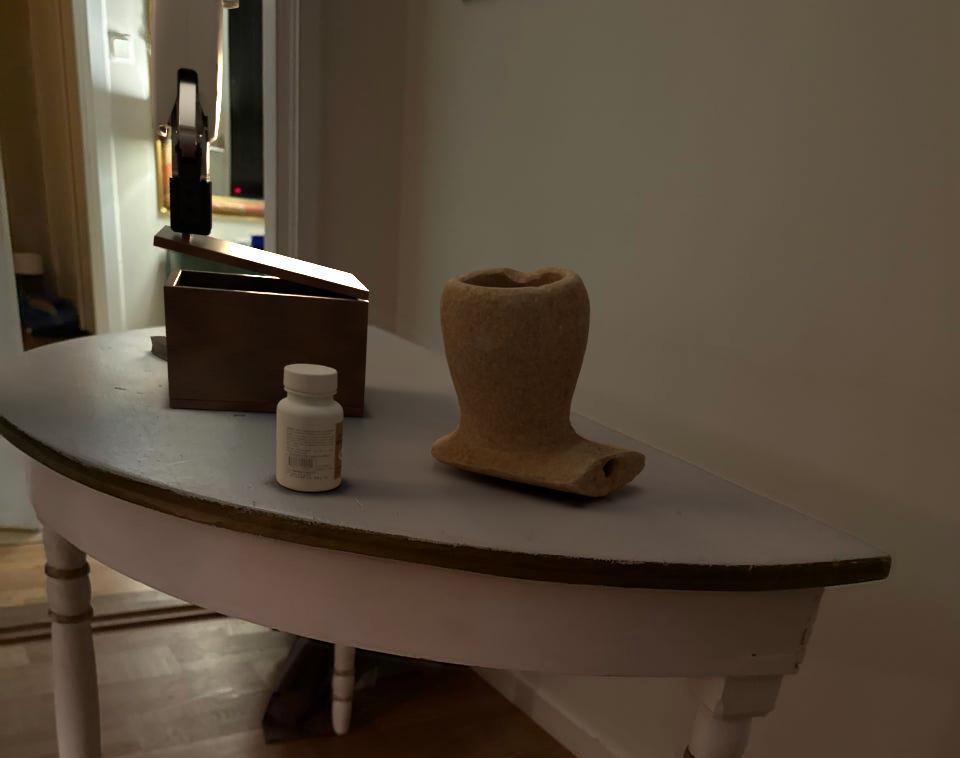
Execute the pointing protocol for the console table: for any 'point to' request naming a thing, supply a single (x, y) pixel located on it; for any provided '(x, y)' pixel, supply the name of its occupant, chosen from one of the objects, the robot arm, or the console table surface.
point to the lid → (260, 262)
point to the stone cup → (523, 382)
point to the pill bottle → (309, 430)
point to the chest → (258, 340)
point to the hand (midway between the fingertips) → (192, 229)
